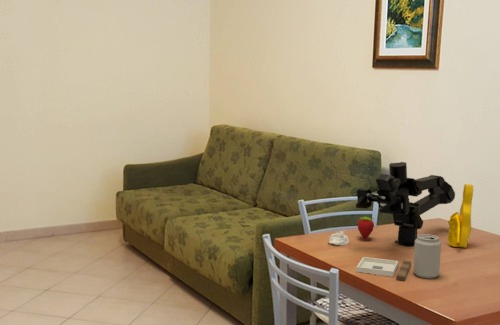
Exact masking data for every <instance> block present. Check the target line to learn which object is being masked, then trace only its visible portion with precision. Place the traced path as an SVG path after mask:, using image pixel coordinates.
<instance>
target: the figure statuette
mask: <svg viewBox="0 0 500 325" xmlns="http://www.w3.org/2000/svg"><path fill="white" fill-rule="evenodd" d="M473 196H474V185H473V184H464V185H463V191H462V200H461V205H460V209H459V212H455V213H452V214H451V216H450V217H449V221H447V223H448V225H449V228H448V230H447V231H448V234H447V242H448V245H449V246H450V247H456V248H458V247H459V248H464V249H465V248H467V246H468V240H469V239H470V235H471V232H472V204H473V202H472V201H473Z"/></svg>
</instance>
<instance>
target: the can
mask: <svg viewBox="0 0 500 325" xmlns="http://www.w3.org/2000/svg"><path fill="white" fill-rule="evenodd" d="M441 248H442V242H441V241H440V237H439V236H438V235H435V234H428V233H426V234H425V233H421V234H417V239H416V240H415V245H414V248H413V249H414V250H413V271H412V272H413V274H415V275H416V277H418V278H422V279H435V278H437V277H438V276H439V275H440V270H441V269H440V268H441V267H440V266H441V251H442V249H441Z"/></svg>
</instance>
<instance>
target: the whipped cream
mask: <svg viewBox="0 0 500 325" xmlns="http://www.w3.org/2000/svg"><path fill="white" fill-rule="evenodd" d="M328 238H329V239H328V244H332V245H333V244H334V245H337V246H347V245H348V244H349V243H350V240H349V237H348V236H347V235H345V233H344V231H342V230H340V231H337V232H336V233H333V234H332V233H331V234H330V236H329V237H328Z"/></svg>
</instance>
